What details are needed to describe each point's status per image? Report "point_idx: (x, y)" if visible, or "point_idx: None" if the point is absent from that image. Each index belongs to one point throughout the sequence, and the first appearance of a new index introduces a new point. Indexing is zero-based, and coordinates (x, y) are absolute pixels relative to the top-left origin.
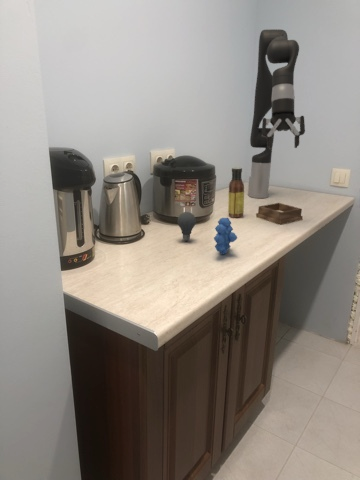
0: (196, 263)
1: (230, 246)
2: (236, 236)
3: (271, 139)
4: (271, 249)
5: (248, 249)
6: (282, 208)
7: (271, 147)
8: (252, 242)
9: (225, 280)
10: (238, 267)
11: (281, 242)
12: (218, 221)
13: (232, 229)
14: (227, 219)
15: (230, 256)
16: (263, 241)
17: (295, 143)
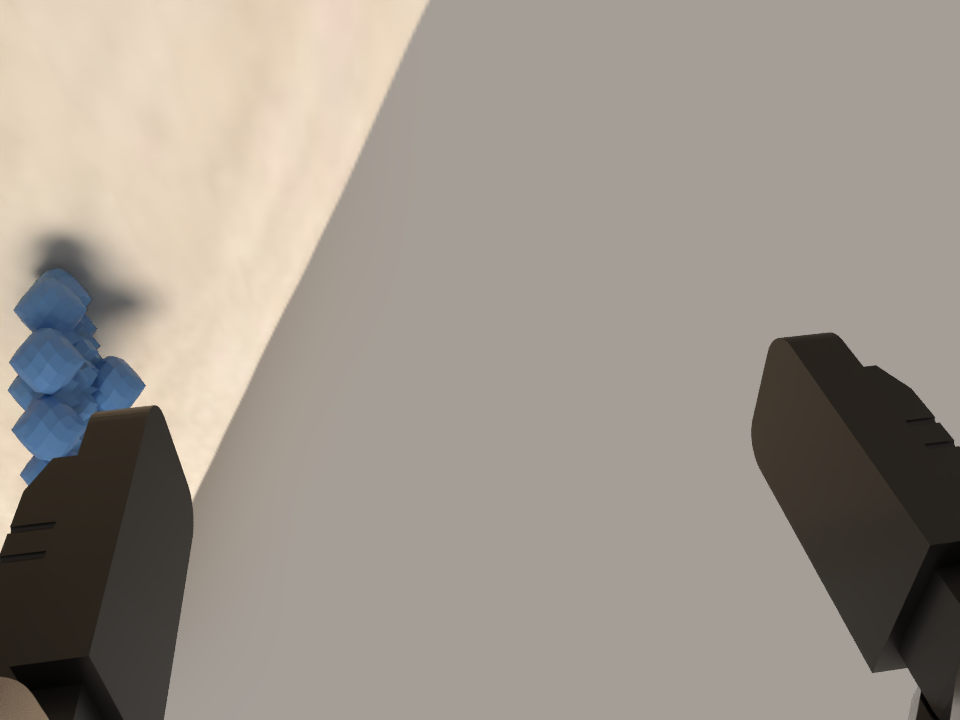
0: (5, 407)
1: (90, 299)
2: (139, 393)
3: (162, 709)
4: (309, 168)
5: (176, 209)
6: None
7: (192, 522)
8: (163, 95)
9: (187, 456)
10: (197, 379)
11: (365, 33)
12: (27, 482)
13: (82, 362)
14: (62, 454)
15: (117, 311)
16: (234, 52)
17: (786, 504)
